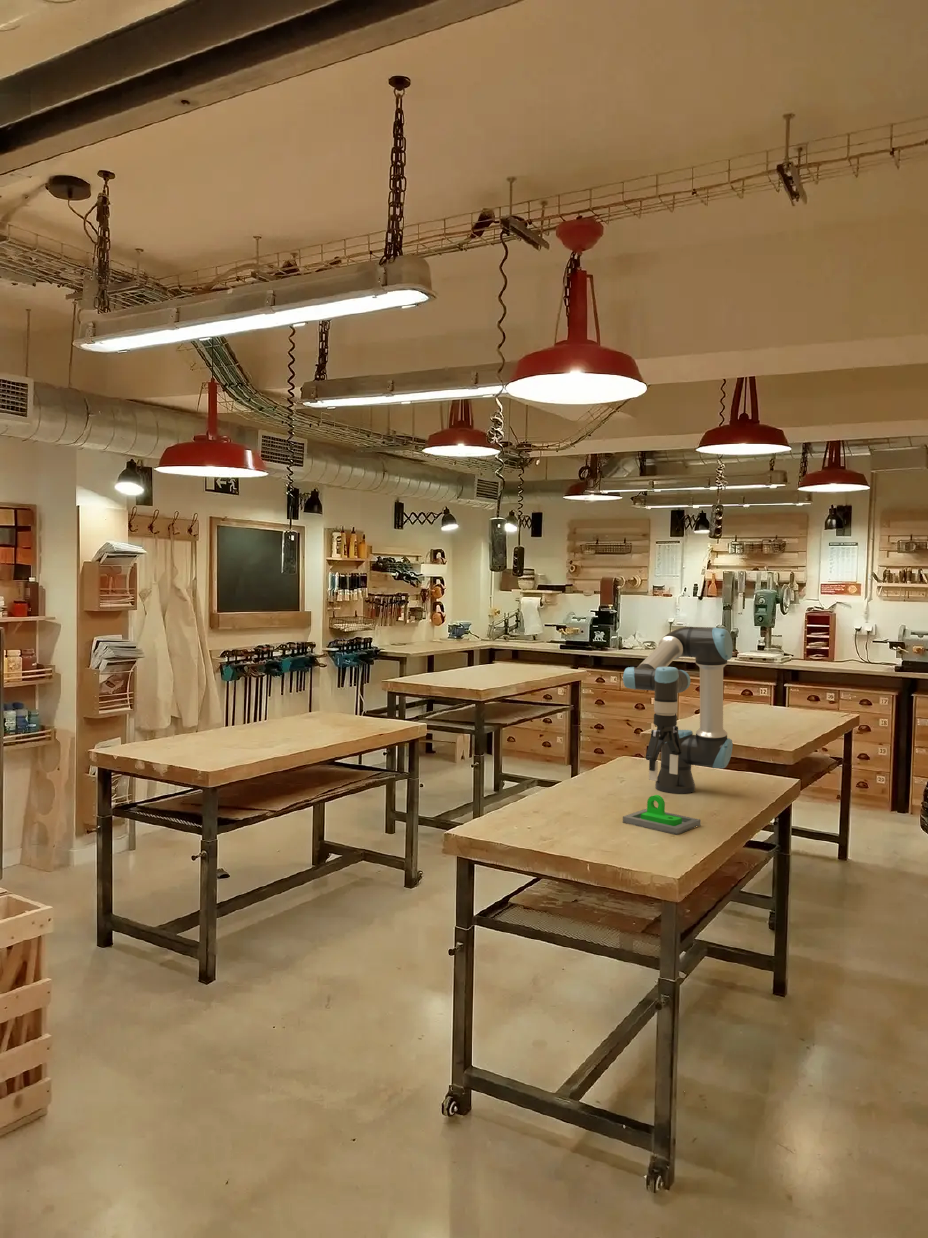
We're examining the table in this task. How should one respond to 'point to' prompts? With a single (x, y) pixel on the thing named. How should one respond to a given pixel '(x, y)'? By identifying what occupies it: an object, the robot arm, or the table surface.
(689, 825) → the locating tray
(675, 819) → the mechanical part
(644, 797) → the table surface
